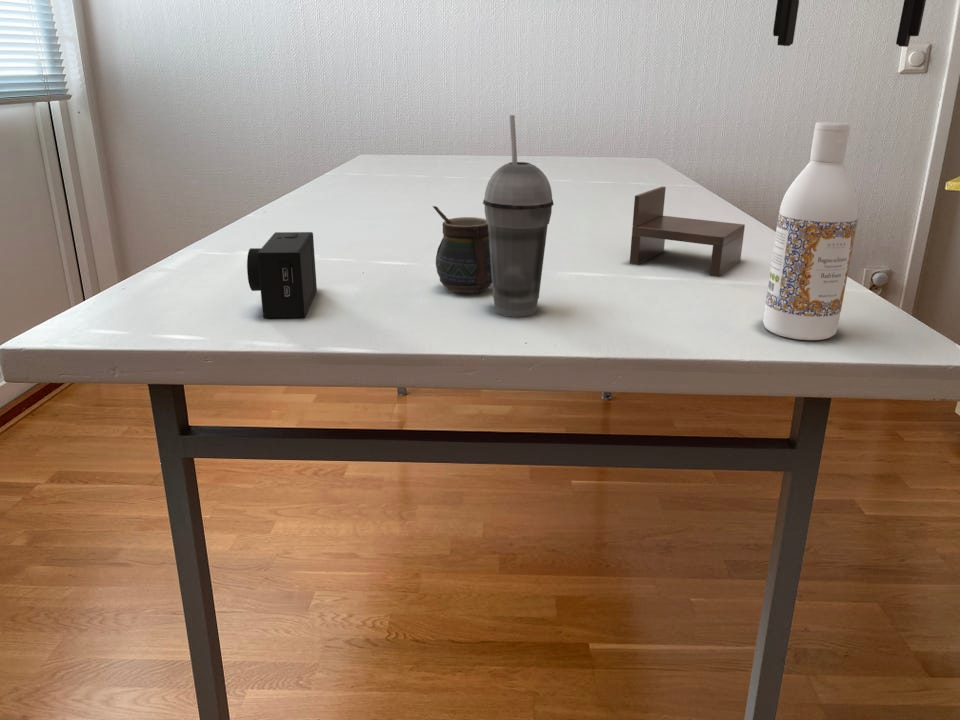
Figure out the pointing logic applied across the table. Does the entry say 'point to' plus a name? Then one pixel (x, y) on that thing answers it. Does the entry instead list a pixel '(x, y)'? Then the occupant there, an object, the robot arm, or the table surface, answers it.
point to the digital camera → (284, 274)
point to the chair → (681, 233)
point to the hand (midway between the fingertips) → (841, 45)
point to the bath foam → (813, 242)
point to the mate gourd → (464, 255)
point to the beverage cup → (517, 232)
